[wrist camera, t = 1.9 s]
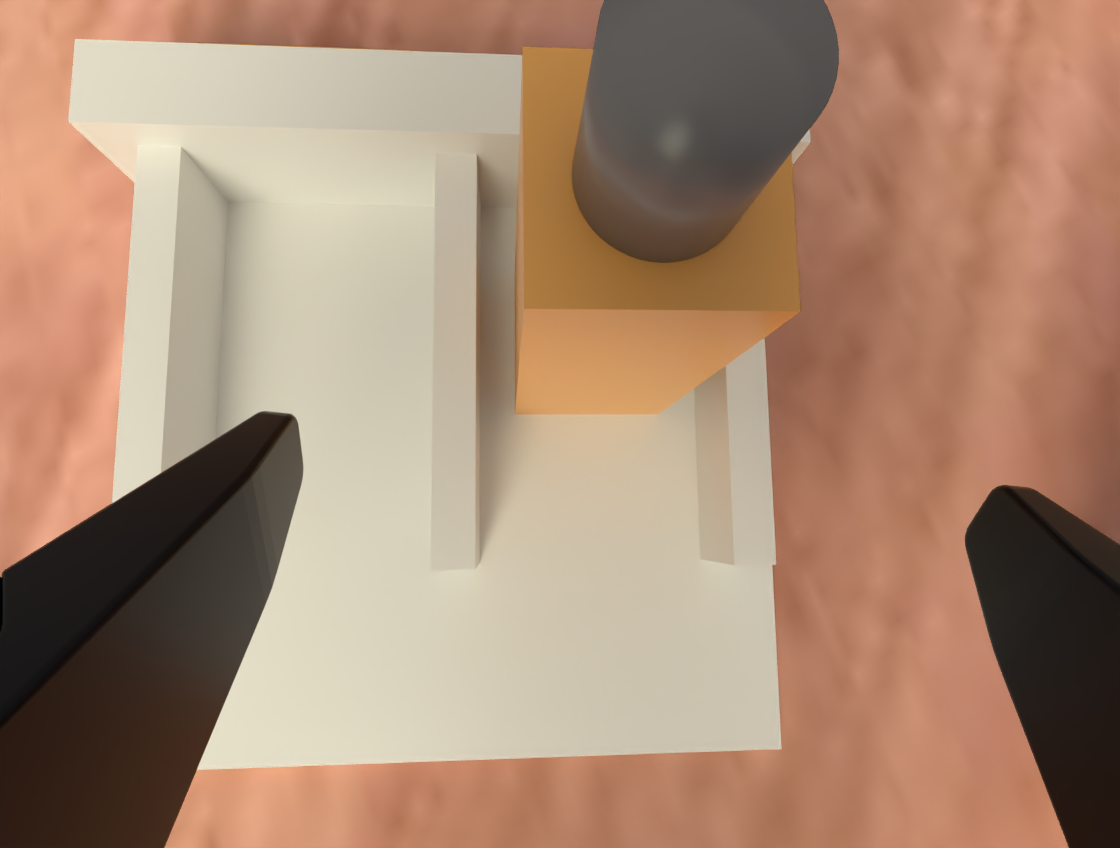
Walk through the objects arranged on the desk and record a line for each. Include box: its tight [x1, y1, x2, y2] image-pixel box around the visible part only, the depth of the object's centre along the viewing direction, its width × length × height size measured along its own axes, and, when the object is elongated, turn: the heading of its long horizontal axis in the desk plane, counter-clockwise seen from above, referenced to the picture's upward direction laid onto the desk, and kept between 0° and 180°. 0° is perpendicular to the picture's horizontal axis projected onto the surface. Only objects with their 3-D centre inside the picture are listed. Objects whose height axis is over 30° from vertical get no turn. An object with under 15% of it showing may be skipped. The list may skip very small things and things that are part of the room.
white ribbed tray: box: [68, 39, 811, 770], centre depth 18 cm, size 18×17×5 cm
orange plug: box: [515, 0, 839, 414], centre depth 14 cm, size 4×4×13 cm
